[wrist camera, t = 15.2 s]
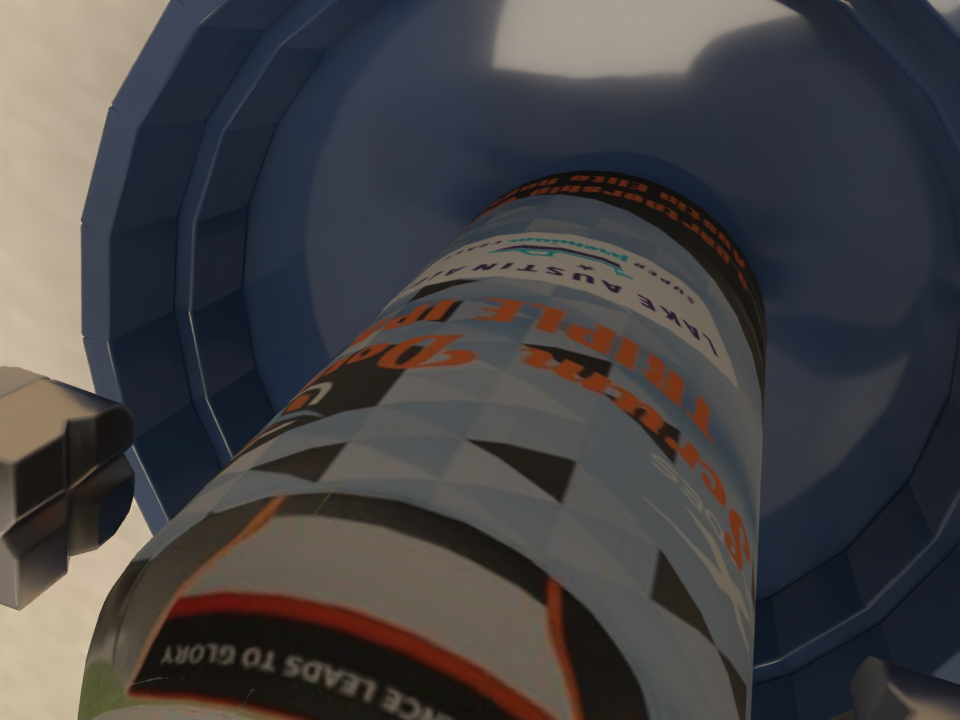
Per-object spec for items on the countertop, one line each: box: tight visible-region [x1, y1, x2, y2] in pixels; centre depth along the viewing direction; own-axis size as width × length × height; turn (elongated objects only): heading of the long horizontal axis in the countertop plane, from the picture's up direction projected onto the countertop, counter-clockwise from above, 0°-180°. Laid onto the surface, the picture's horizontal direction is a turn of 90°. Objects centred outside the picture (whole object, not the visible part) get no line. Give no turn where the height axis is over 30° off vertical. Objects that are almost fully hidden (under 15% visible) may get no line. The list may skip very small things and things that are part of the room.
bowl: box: [81, 0, 960, 720], centre depth 15 cm, size 16×16×4 cm
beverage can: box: [78, 170, 767, 720], centre depth 11 cm, size 6×7×12 cm
